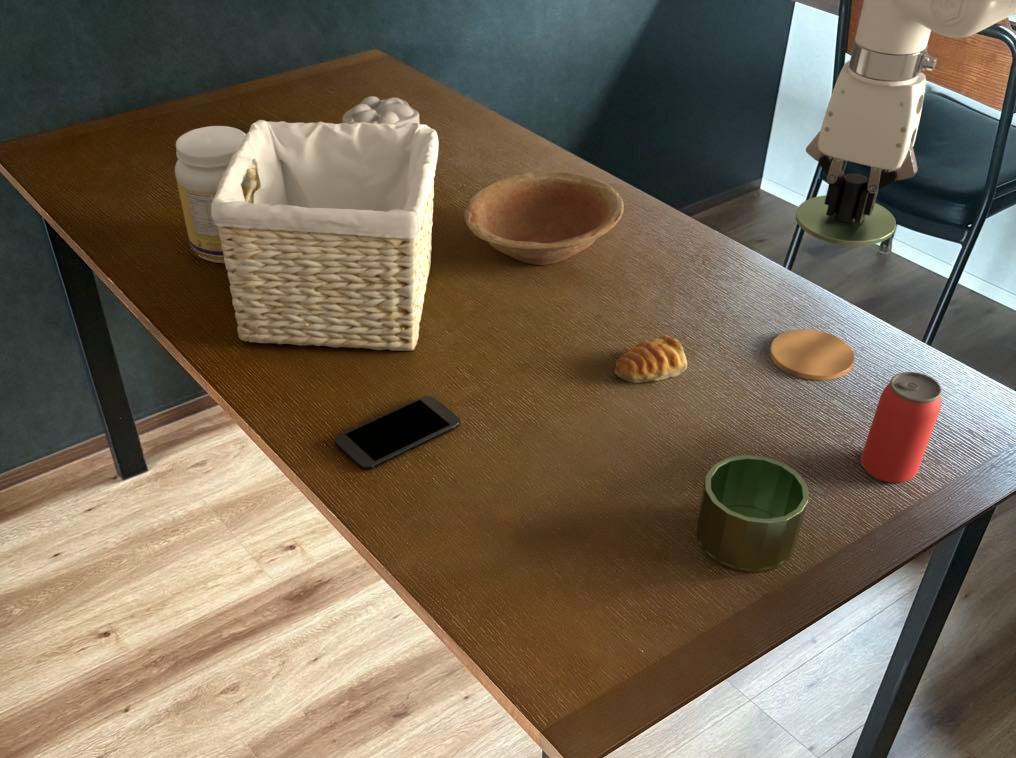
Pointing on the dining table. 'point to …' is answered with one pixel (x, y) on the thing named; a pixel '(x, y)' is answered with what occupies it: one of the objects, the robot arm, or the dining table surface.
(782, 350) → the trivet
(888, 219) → the pot lid
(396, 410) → the smartphone
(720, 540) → the pot
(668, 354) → the pastry
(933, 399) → the beer can
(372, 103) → the lumpy-topped squat cylinder
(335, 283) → the basket
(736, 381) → the dining table surface
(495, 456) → the dining table surface
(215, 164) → the supplement tub
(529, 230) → the bowl
